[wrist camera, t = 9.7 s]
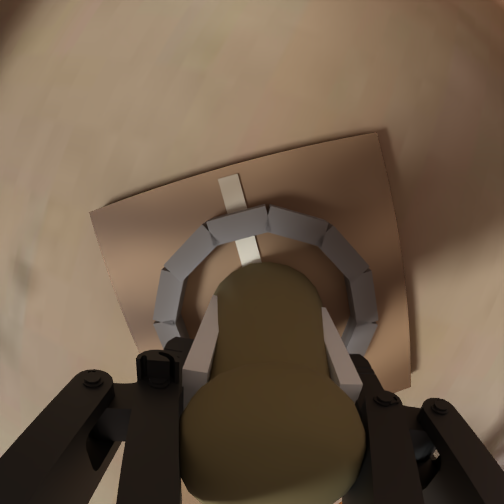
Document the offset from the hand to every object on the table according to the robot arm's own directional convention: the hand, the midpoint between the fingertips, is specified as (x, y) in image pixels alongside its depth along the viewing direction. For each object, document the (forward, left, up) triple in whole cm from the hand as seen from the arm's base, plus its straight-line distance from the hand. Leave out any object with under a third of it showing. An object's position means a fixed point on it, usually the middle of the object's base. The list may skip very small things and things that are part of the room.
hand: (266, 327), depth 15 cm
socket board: (0, 0, -3) cm, 3 cm away
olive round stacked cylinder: (0, 0, -1) cm, 1 cm away
